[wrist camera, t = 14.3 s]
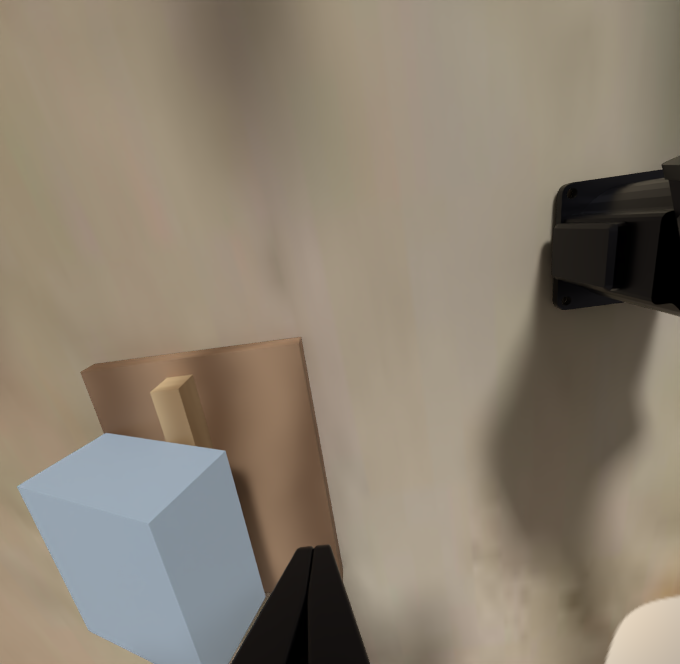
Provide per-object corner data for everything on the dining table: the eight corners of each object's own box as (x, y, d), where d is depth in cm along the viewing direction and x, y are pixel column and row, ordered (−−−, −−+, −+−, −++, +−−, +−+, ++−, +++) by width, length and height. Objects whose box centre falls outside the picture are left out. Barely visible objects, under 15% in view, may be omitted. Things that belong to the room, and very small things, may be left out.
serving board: (301, 336, 20) (294, 355, 17) (342, 568, 25) (343, 612, 22) (94, 364, 21) (54, 386, 18) (177, 585, 26) (156, 630, 23)
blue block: (148, 523, 13) (16, 486, 17) (212, 692, 16) (88, 630, 20) (225, 450, 17) (105, 432, 21) (265, 596, 20) (154, 559, 24)
